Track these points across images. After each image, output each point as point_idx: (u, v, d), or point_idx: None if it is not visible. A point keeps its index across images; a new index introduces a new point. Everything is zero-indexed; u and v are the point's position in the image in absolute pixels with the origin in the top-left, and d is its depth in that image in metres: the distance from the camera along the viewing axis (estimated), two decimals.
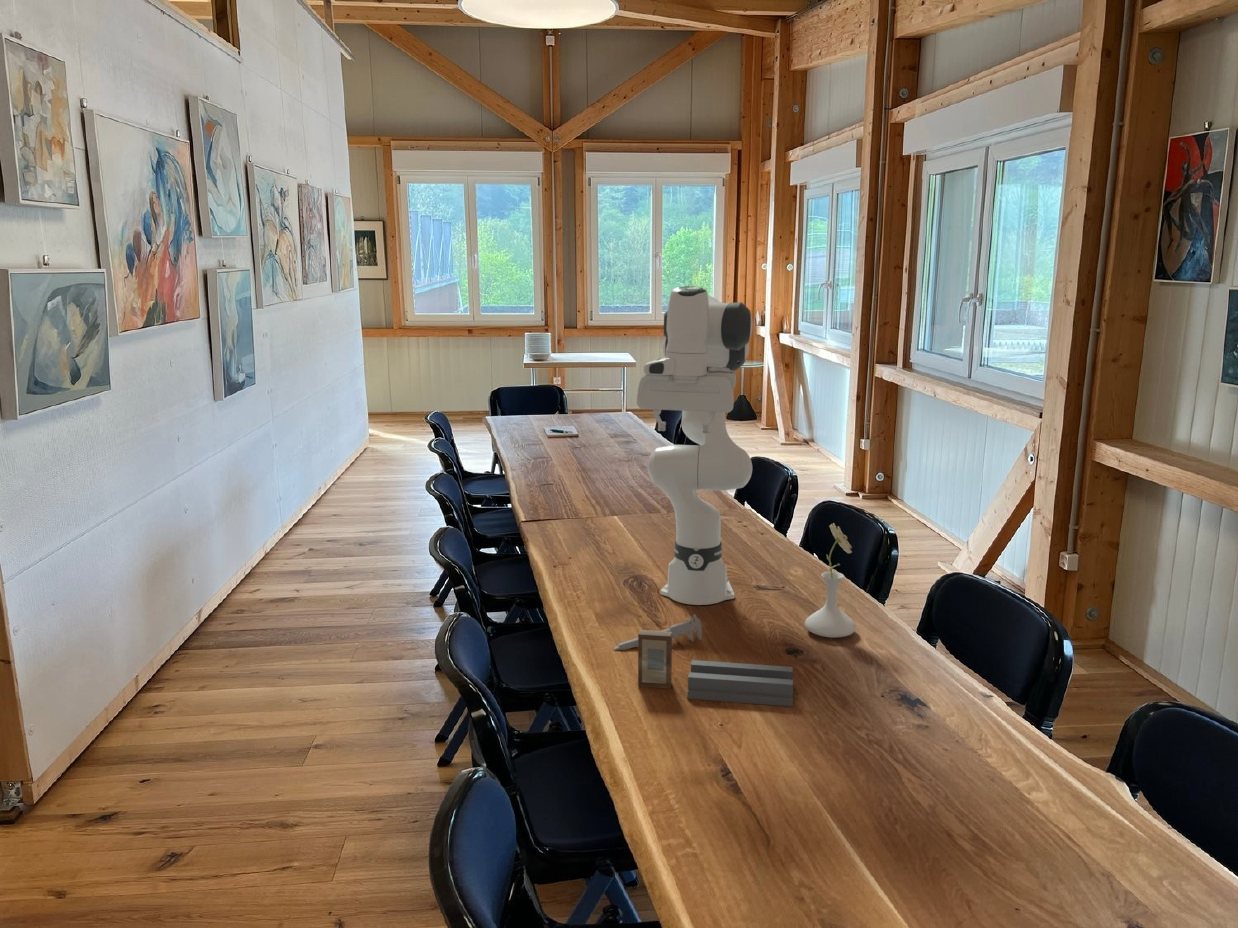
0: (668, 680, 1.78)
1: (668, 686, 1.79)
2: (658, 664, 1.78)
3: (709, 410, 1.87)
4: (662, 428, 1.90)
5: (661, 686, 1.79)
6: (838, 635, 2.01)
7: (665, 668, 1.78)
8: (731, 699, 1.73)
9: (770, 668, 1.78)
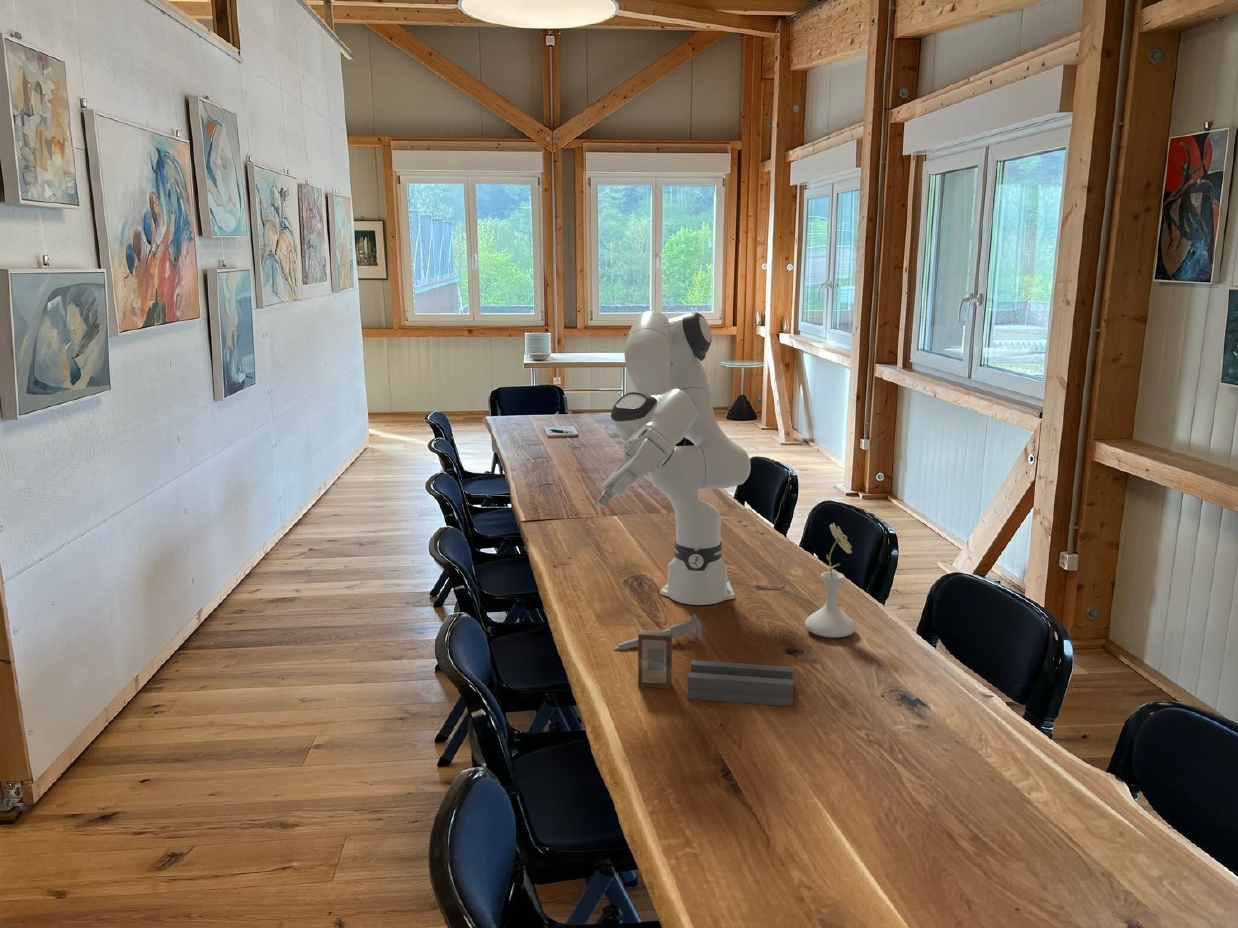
0: (668, 680, 1.78)
1: (668, 686, 1.79)
2: (658, 664, 1.78)
3: None
4: (620, 493, 1.76)
5: (661, 686, 1.79)
6: (838, 635, 2.01)
7: (665, 668, 1.78)
8: (731, 699, 1.73)
9: (770, 668, 1.78)
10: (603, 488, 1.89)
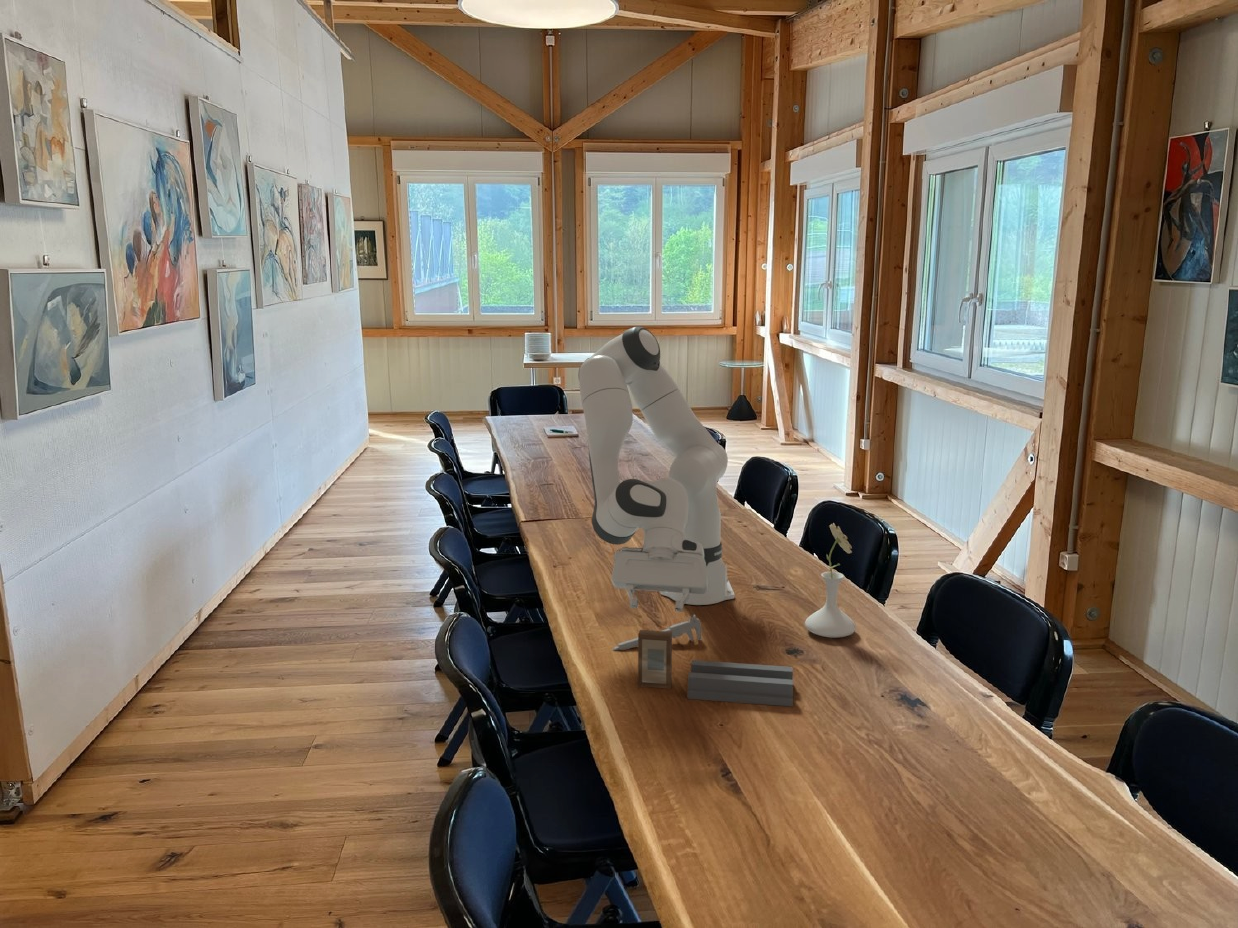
0: (668, 680, 1.78)
1: (668, 686, 1.79)
2: (658, 664, 1.78)
3: None
4: None
5: (661, 686, 1.79)
6: (838, 635, 2.01)
7: (665, 668, 1.78)
8: (731, 699, 1.73)
9: (770, 668, 1.78)
10: (621, 583, 1.88)
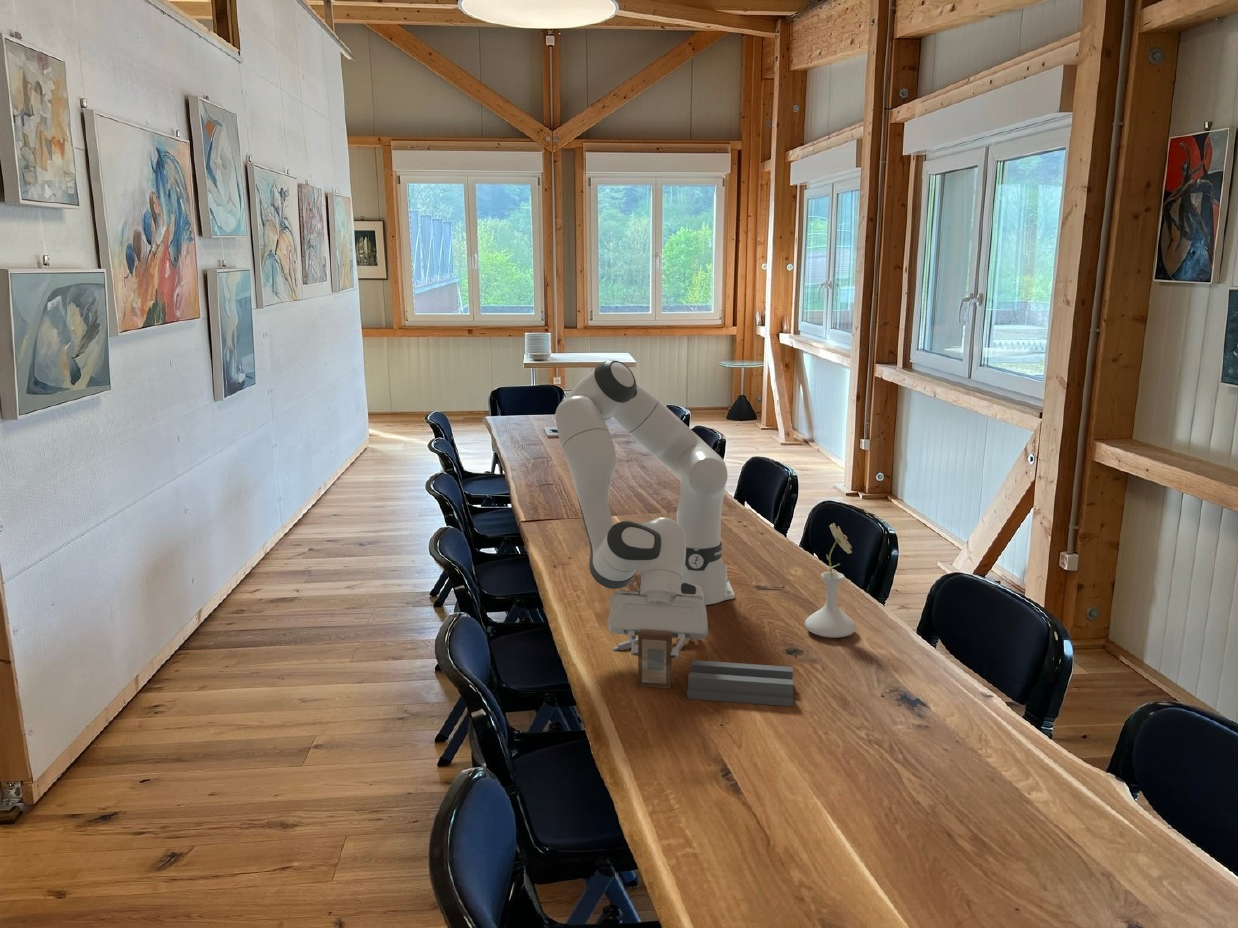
0: (668, 680, 1.78)
1: (668, 686, 1.79)
2: (658, 664, 1.78)
3: None
4: None
5: (661, 686, 1.79)
6: (838, 635, 2.01)
7: (665, 667, 1.78)
8: (731, 699, 1.73)
9: (770, 668, 1.78)
10: (618, 628, 1.81)
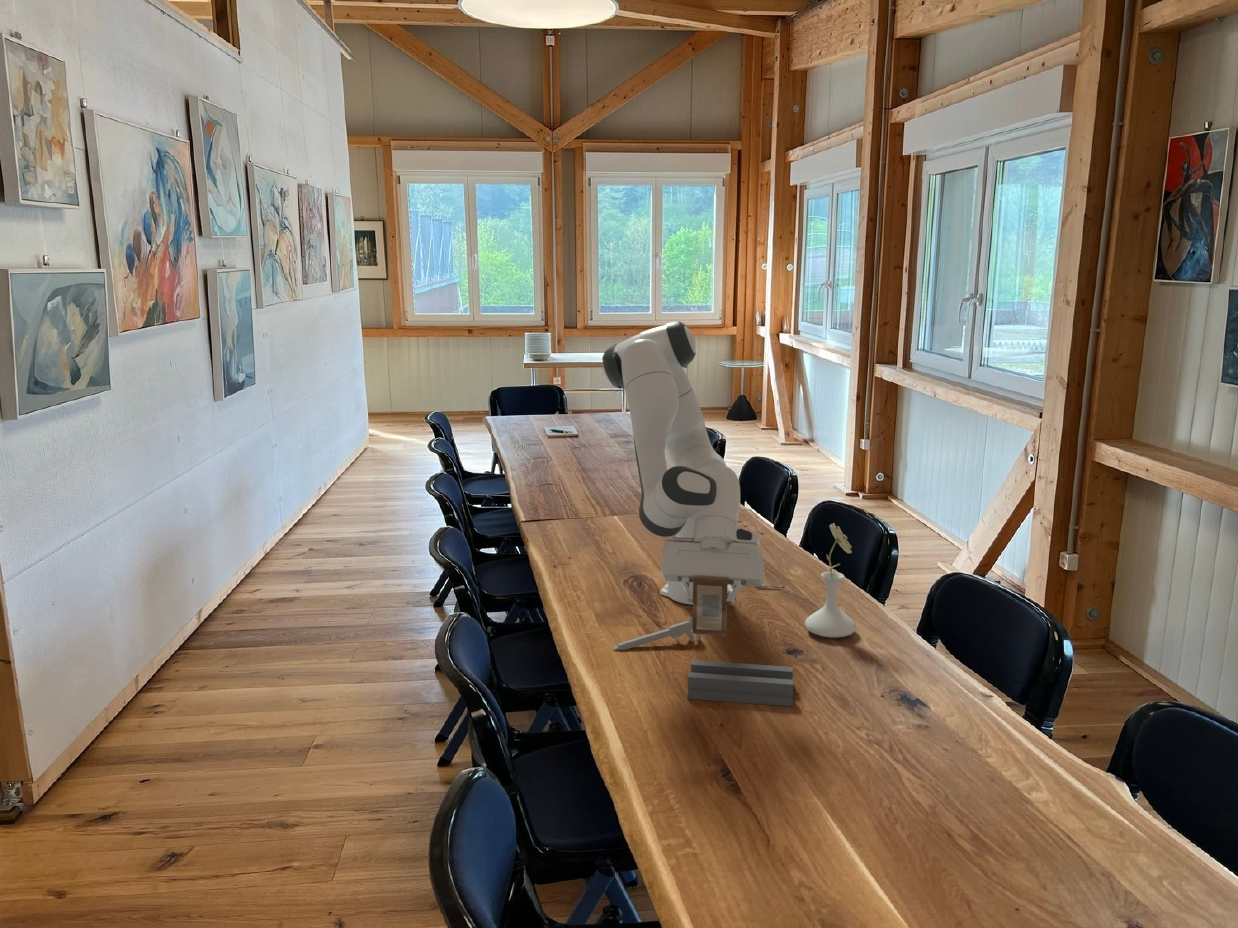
0: (723, 627, 1.74)
1: (723, 633, 1.74)
2: (713, 610, 1.73)
3: None
4: None
5: (716, 633, 1.74)
6: (838, 635, 2.01)
7: (720, 614, 1.73)
8: (731, 699, 1.73)
9: (770, 668, 1.78)
10: (672, 575, 1.77)
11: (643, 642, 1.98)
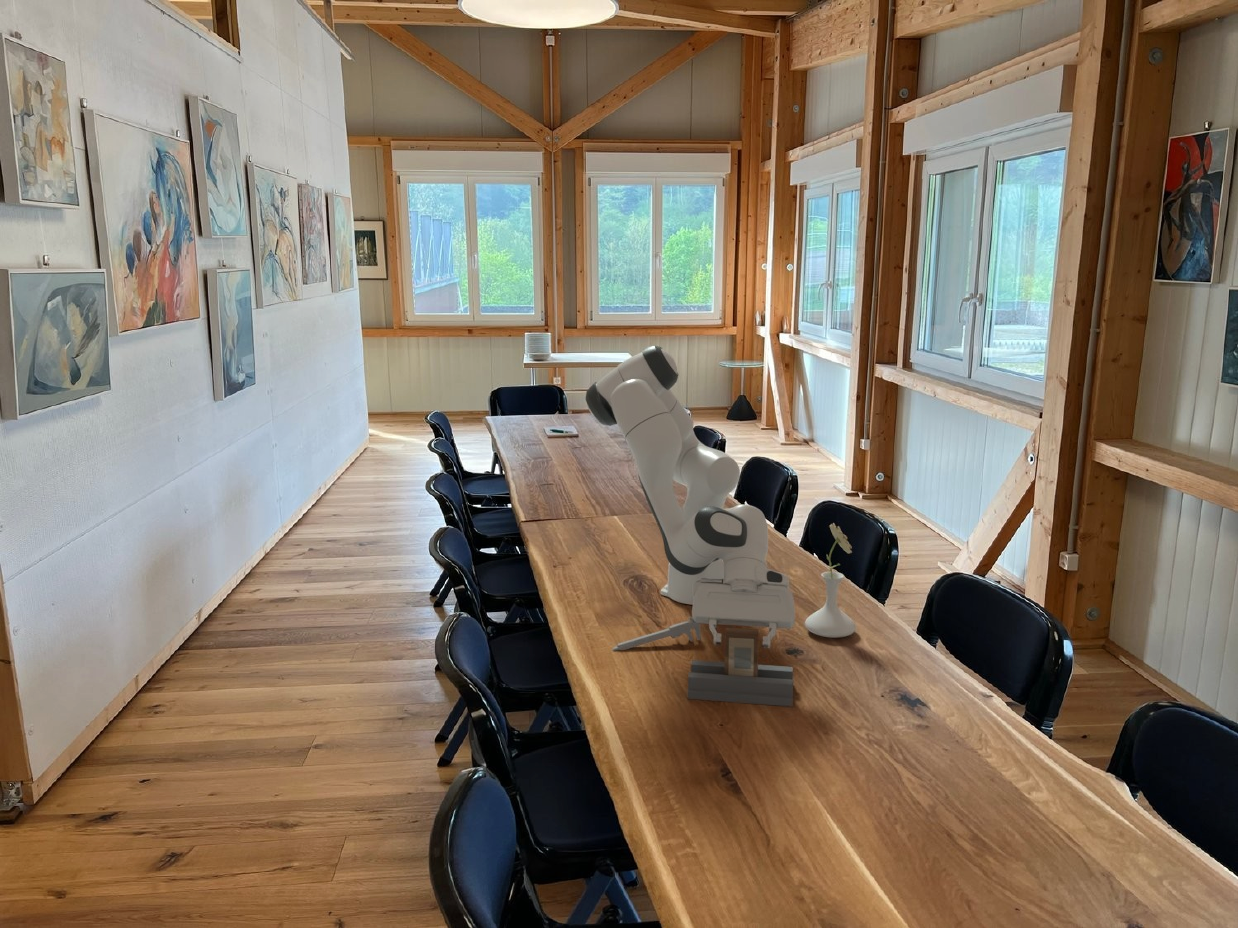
0: None
1: None
2: (745, 663, 1.75)
3: None
4: None
5: None
6: (838, 635, 2.01)
7: (752, 666, 1.75)
8: (731, 699, 1.73)
9: (770, 668, 1.78)
10: (703, 617, 1.78)
11: (643, 642, 1.98)
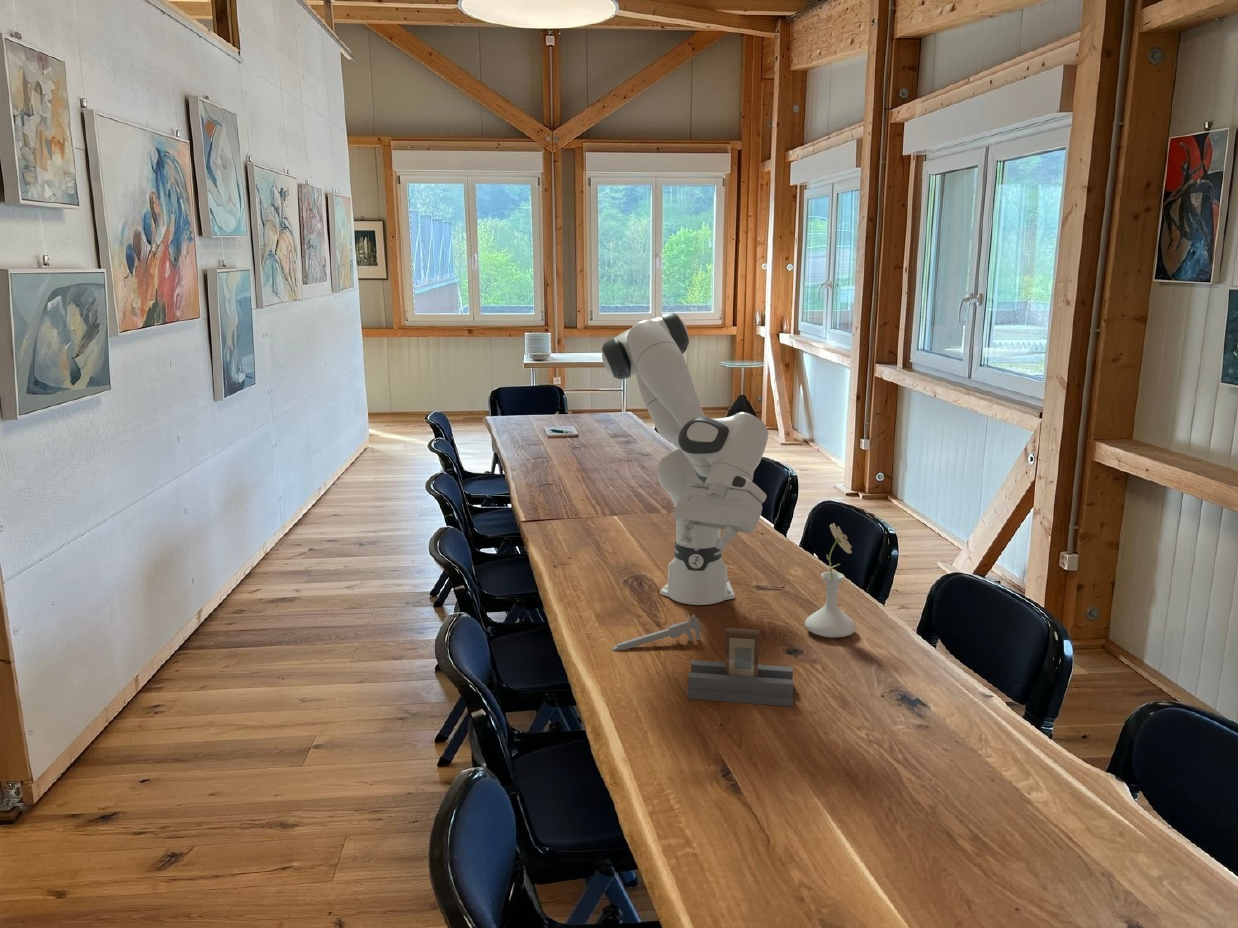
0: None
1: None
2: (745, 663, 1.75)
3: None
4: None
5: None
6: (838, 635, 2.01)
7: (752, 666, 1.75)
8: (731, 699, 1.73)
9: (770, 668, 1.78)
10: (679, 518, 1.88)
11: (642, 642, 1.98)
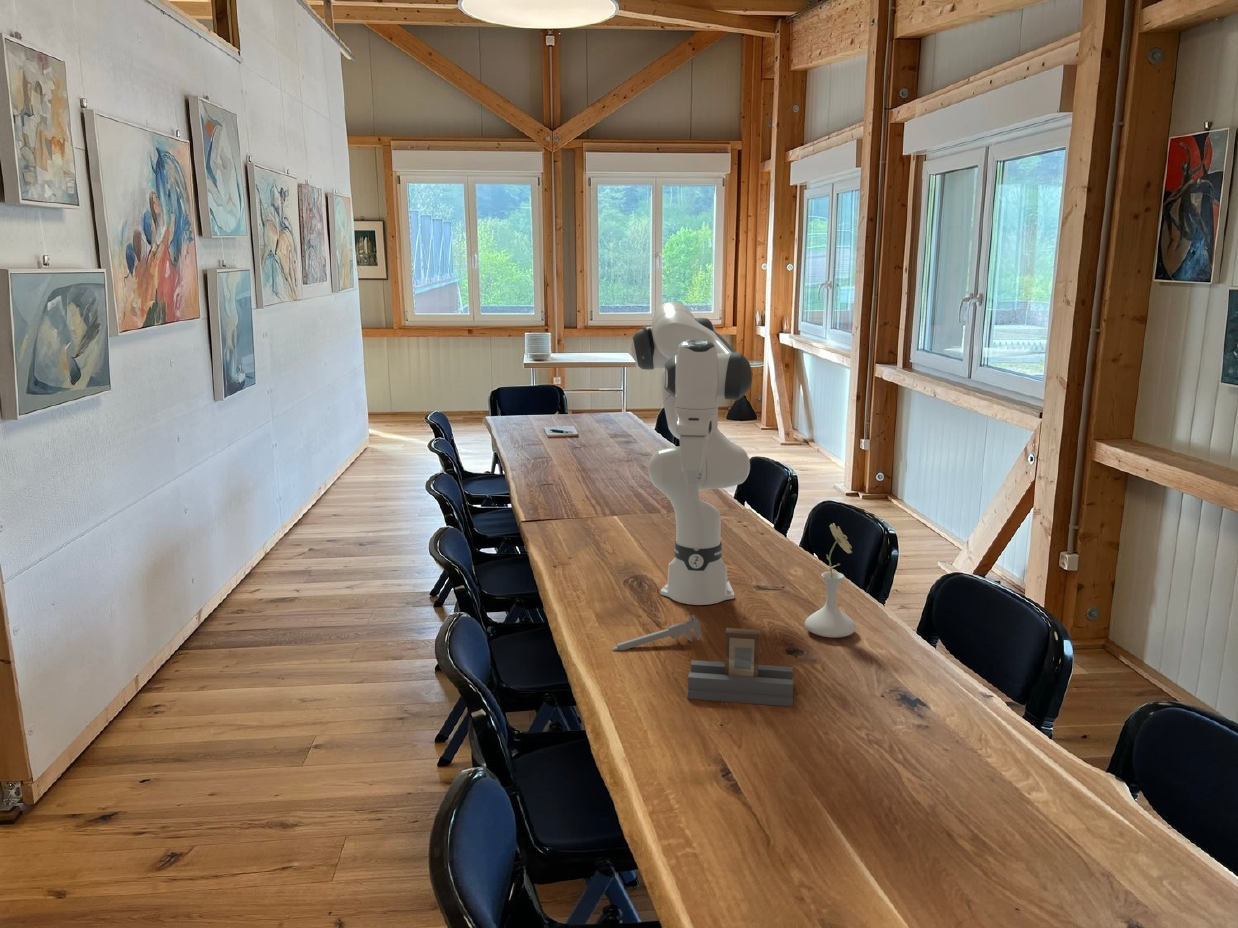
0: None
1: None
2: (745, 663, 1.75)
3: None
4: (697, 488, 1.83)
5: None
6: (838, 635, 2.01)
7: (752, 666, 1.75)
8: (731, 699, 1.73)
9: (770, 668, 1.78)
10: None
11: (642, 642, 1.98)
